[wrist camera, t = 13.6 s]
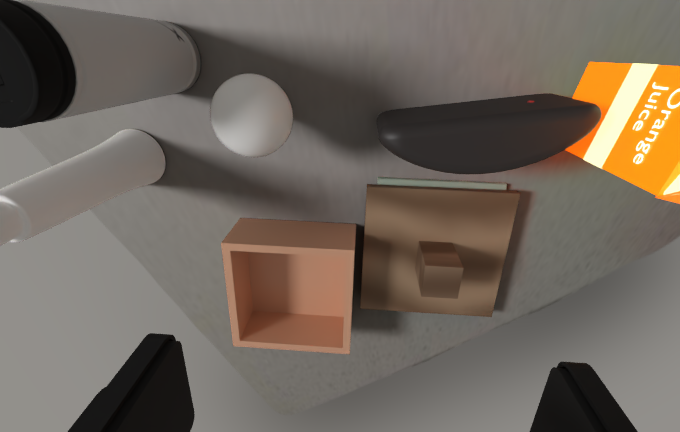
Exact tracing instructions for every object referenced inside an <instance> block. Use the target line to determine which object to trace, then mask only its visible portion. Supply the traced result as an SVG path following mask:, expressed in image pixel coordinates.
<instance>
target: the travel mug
mask: <svg viewBox="0 0 680 432" xmlns="http://www.w3.org/2000/svg"><path fill="white" fill-rule="evenodd" d="M200 68H201V60H200V54H199V51H198V48H197V46H196V44H195V42H194V40H193V39H192V38H191V36H190V35H189V34H188V33H187V32H186V31H185V30H184V29H182V28H181V27H180V26H178V25H176V24H173V23H170V22H166V21H160V20H153V19H146V18H140V17H133V16H126V15H120V14H113V13H106V12H100V11H93V10H86V9H80V8H73V7H66V6H60V5H53V4H46V3H40V2H33V1H26V0H0V127H1V128H12V127H17V126H22V125H27V124H32V123H37V122H46V121H51V120H56V119H60V118H65V117H70V116H74V115H79V114H83V113H88V112H93V111H97V110H102V109H106V108H111V107H115V106H120V105H125V104H129V103H134V102H138V101H143V100H148V99H152V98H157V97H161V96H166V95H171V94H175V93H180V92H183V91H186V90H188V89H189V88H190V87H192V86H193V85H194V83H195V82H196V81H197V78H198V76H199V73H200Z"/></svg>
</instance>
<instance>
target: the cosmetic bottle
mask: <svg viewBox="0 0 680 432" xmlns="http://www.w3.org/2000/svg"><path fill="white" fill-rule="evenodd" d="M165 165H166V163H165V156H164V153H163V150H162V149H161V147H160V145H159V144H158V143H157V141H156V140H155V139H154V138H152V137H151V136H150V135H148V134H147V133H145V132H143V131H140V130H136V129H126V130H122V131H120V132H118V133H116V134H115V135H114V136H112V137H111V138H109V139H108V140H106V141H105V142H103V143H101V144H99V145H98V146H96V147H94V148H92V149H90V150H88V151H85V152H83V153H81V154H79V155H77V156H75V157H72V158H70V159H68V160H66V161H63V162H61V163H59V164H56V165H54V166H52V167H49V168H47V169H45V170H42V171H40V172H38V173H35V174H33V175H31V176H28V177H26V178H24V179H21V180H19V181H17V182H15V183H12V184H10V185H8V186H6V187H4V188H1V189H0V246H1V245H3V244H5V243H7V242H21V241H24V240H26V239H28V238H31V237H33V236H35V235H37V234H39V233H41V232H43V231H46V230H48V229H50V228H52V227H54V226H56V225H58V224H60V223H62V222H64V221H66V220H68V219H70V218H72V217H74V216H76V215H78V214H80V213H82V212H84V211H86V210H88V209H91V208H93V207H95V206H97V205H99V204H101V203H103V202H105V201H107V200H109V199H111V198H113V197H116V196H118V195H120V194H123V193H125V192H127V191H130V190H133V189H135V188H138V187H141V186H145V185H149V184H152V183H154V182H156V181H157V180H159V179H160V178H161V176H162V175H163V173H164V170H165Z"/></svg>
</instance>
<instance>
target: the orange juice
mask: <svg viewBox="0 0 680 432" xmlns="http://www.w3.org/2000/svg"><path fill="white" fill-rule="evenodd" d="M572 99H577V100H581V101H585V102H590V103H594V104H596V105H597V106H598V107H599V108H600V109H601V113H602V115H601V119H600V121H599V123H598V124H597V125H596V127H595V128H594V129H593V130H592V131H591V132H590V133H589V134H588V135H587V136H585V137H584V138H583V139H581V140H580V141H578V142H577V143H575V144H573V145H572V146H570V147H568V148H567V149H565V150H566V151H568V152H570V153H572V154H574V155H576V156H578V157H580V158H582V159H583V160H585V161H587V162H589V163H591V164H593V165H595V166H597V167H599V168H601V169H604V170H606V171H608V172H610V173H612V174H614V175H616V176H618V177H620V178H622V179H624V180H626V181H628V182H630V183H632V184H634V185H636V186H638V187H640V188H642V189H644V190H646V191H648V192H650V193H652V194H654V195H656V196H657V197H655V198H659V199H663V200H667V201H671V202H675V203H679V204H680V66H665V65H658V64H638V63H633V64H624V63H604V62H589V64H588V66H587V68H586V70H585V72H584V74H583V76H582V79H581V81H580V83H579V85H578V87H577V89H576V91H575V93H574V95H573V97H572Z"/></svg>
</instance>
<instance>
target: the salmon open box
mask: <svg viewBox="0 0 680 432" xmlns="http://www.w3.org/2000/svg"><path fill="white" fill-rule="evenodd" d="M355 241H356V224H348V223H329V222H310V221H290V220H271V219H252V218H240V219H239V220H238V222H237V223H236V224H235V226H234V227H233V228H232V230H231V231H230V232H229V233H228V235H227V236H226V237H225V239H224V240H223V241H222V243H221V246H222V254H223V263H224V271H225V280H226V288H227V297H228V305H229V314H230V322H231V331H232V339H233V346H240V347H254V348H268V349H282V350H297V351H311V352H325V353H339V354H350V340H351V324H352V304H353V283H354V262H355Z"/></svg>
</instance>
